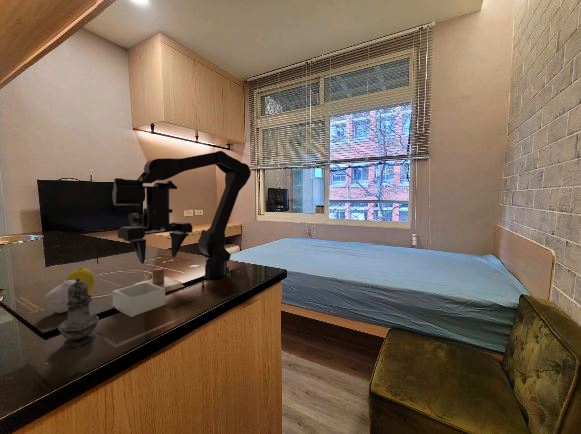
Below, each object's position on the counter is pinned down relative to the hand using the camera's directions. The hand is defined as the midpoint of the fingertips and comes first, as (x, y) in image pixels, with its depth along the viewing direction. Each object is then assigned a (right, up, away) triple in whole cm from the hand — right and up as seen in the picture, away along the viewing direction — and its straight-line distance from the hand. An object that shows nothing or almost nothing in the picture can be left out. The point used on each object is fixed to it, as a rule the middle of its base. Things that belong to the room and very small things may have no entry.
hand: (158, 260), depth 74 cm
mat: (0, -8, +1) cm, 8 cm away
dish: (+1, -10, -12) cm, 15 cm away
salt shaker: (-2, -11, -26) cm, 28 cm away
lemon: (-16, -9, -7) cm, 20 cm away
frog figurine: (-14, -9, -15) cm, 22 cm away
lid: (0, -8, +1) cm, 8 cm away
